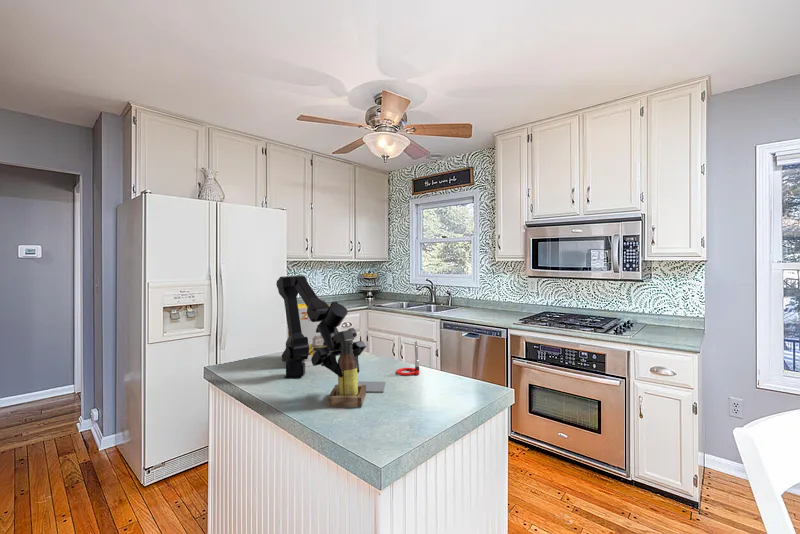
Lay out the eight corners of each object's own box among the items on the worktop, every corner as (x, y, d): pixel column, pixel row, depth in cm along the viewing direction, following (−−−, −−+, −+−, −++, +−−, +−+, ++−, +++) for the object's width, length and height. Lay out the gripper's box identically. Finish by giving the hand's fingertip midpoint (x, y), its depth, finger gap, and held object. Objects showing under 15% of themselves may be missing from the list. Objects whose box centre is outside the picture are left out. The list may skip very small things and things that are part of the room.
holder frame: (327, 406, 114) (327, 397, 114) (335, 393, 126) (335, 384, 126) (361, 407, 114) (361, 397, 114) (366, 393, 125) (366, 385, 125)
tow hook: (395, 377, 145) (419, 376, 145) (394, 344, 145) (417, 343, 145) (397, 370, 154) (419, 370, 153) (395, 339, 154) (417, 338, 153)
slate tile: (354, 392, 127) (354, 390, 127) (358, 382, 137) (358, 381, 137) (383, 392, 127) (383, 391, 127) (385, 383, 137) (385, 381, 137)
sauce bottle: (361, 397, 122) (361, 337, 122) (352, 404, 116) (352, 341, 116) (343, 395, 124) (343, 336, 124) (334, 402, 118) (334, 340, 118)
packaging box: (296, 367, 156) (296, 308, 155) (288, 358, 170) (287, 304, 170) (333, 362, 164) (333, 306, 163) (322, 354, 178) (322, 302, 177)
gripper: (315, 324, 116) (336, 366, 108) (362, 317, 129) (383, 355, 121) (303, 344, 122) (321, 386, 114) (349, 336, 135) (368, 373, 127)
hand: (350, 374), depth 119 cm, fingers closed on sauce bottle, 6 cm apart
